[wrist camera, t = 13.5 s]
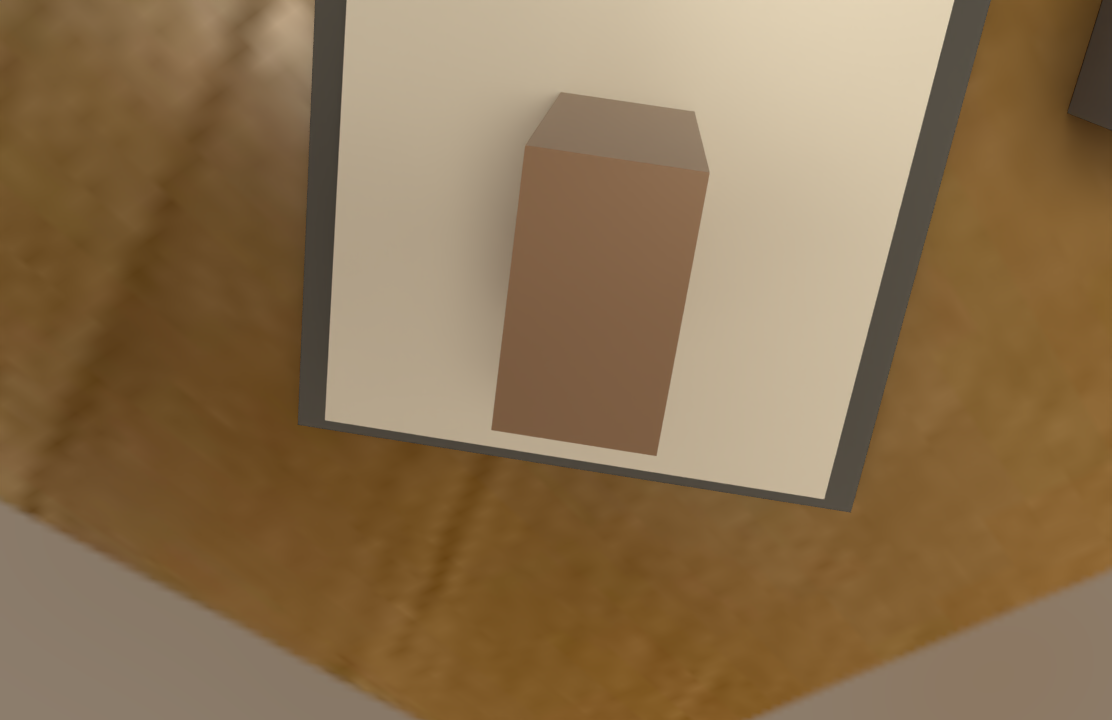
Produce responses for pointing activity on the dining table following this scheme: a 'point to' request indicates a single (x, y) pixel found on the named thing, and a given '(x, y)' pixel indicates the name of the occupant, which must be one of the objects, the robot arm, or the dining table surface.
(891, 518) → the dining table surface
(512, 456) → the mat
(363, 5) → the lid
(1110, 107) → the box
